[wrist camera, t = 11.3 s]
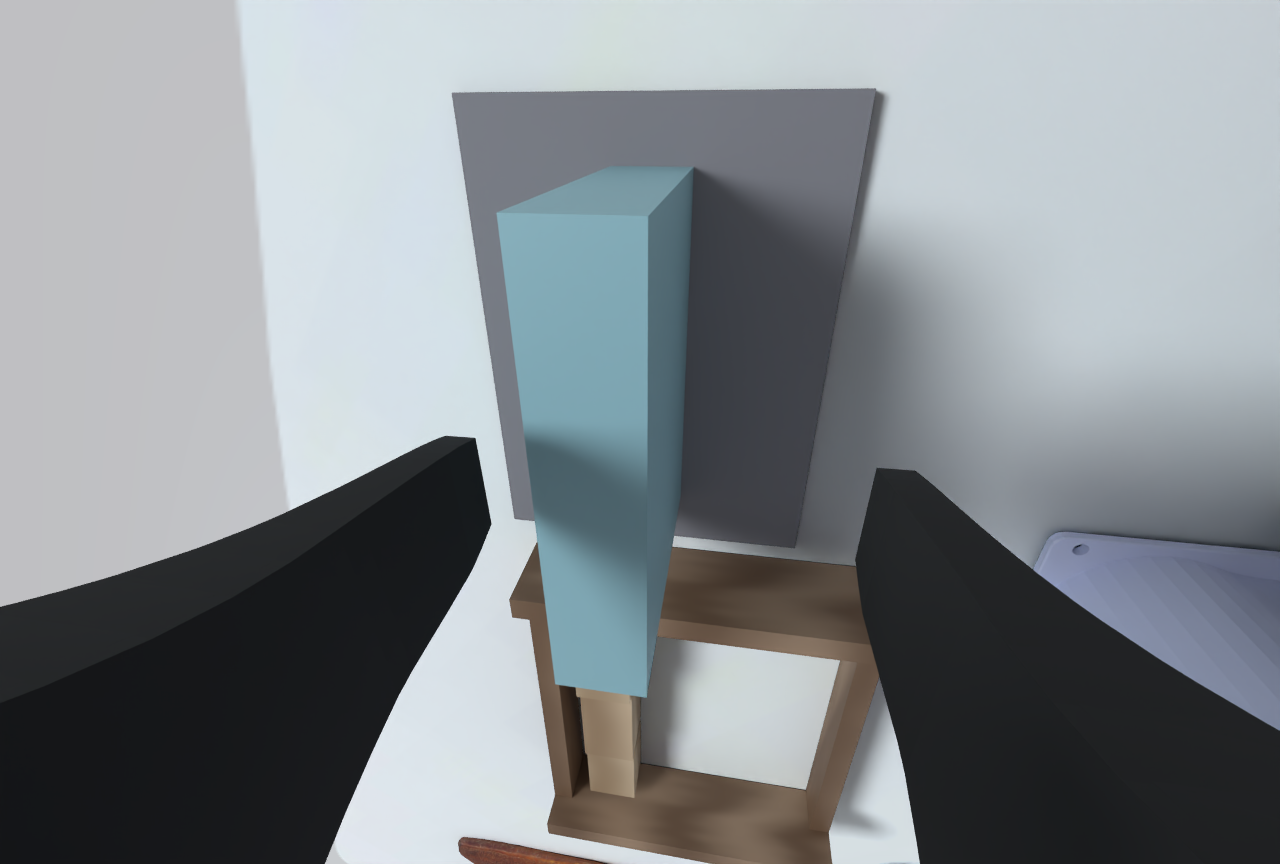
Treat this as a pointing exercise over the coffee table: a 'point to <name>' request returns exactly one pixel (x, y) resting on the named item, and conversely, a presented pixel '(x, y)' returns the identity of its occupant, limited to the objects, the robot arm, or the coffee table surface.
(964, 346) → the coffee table surface
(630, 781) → the offcuts
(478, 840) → the wooden tablet
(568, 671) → the teal rectangular block
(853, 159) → the mat
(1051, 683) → the robot arm
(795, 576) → the rack
